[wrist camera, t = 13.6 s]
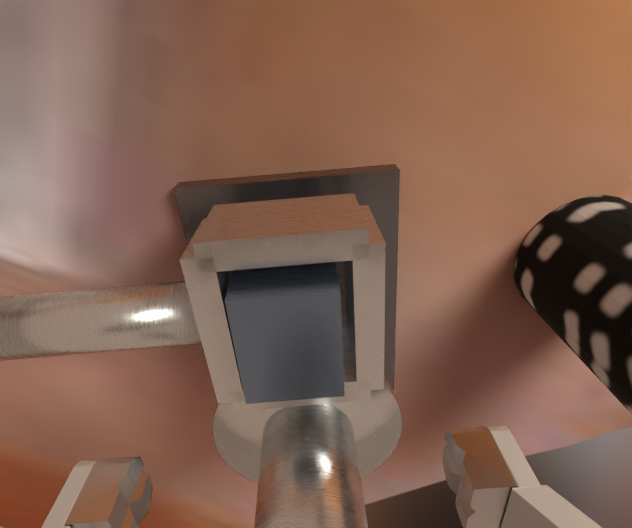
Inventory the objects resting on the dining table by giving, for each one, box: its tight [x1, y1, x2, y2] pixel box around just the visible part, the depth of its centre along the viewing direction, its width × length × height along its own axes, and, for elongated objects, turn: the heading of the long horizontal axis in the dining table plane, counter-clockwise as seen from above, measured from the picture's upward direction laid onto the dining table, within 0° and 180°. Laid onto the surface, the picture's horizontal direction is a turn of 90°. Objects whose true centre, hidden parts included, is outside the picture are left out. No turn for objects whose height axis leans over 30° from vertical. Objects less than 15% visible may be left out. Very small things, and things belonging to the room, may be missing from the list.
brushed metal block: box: [225, 262, 345, 404], centre depth 19 cm, size 5×4×9 cm
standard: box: [0, 164, 402, 528], centre depth 17 cm, size 17×20×20 cm
